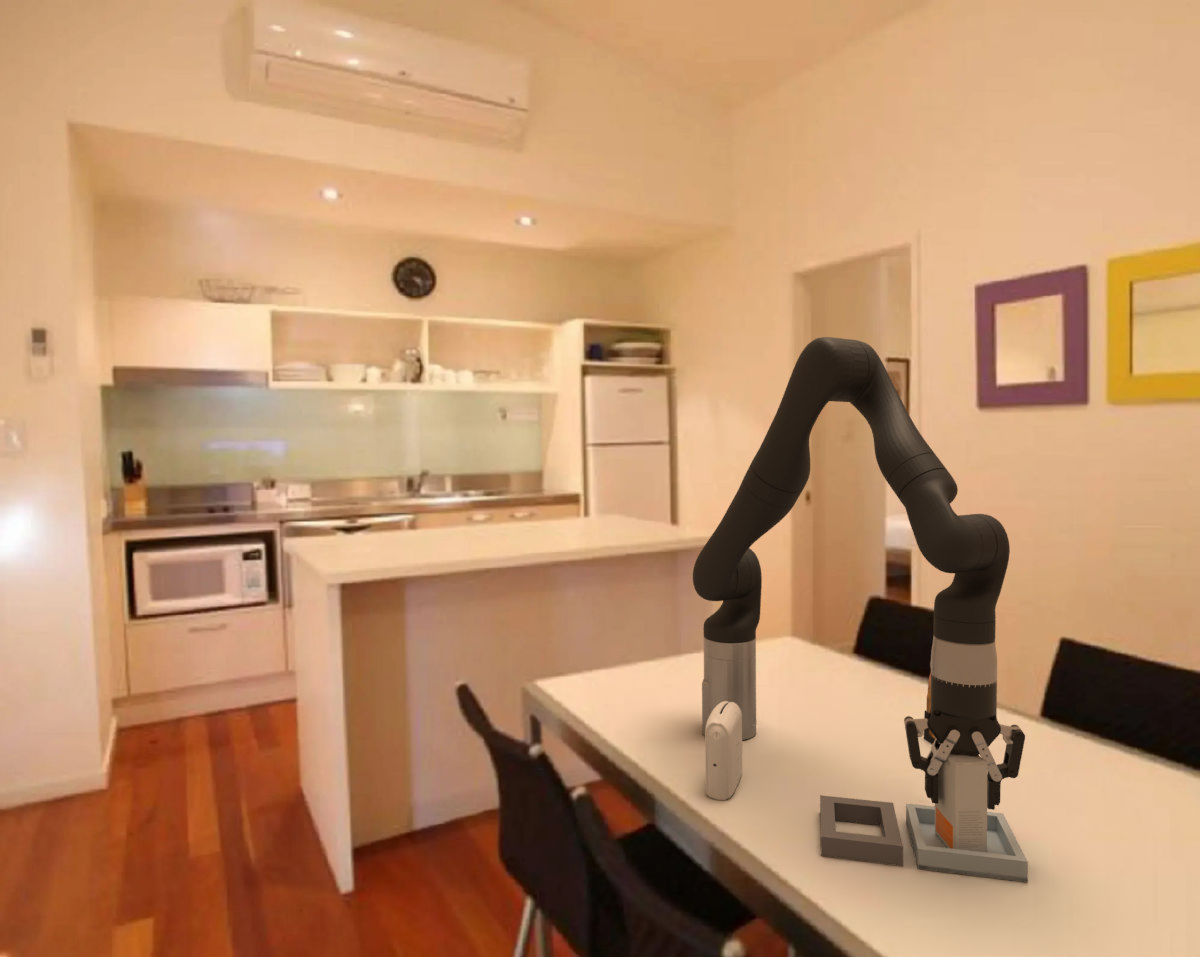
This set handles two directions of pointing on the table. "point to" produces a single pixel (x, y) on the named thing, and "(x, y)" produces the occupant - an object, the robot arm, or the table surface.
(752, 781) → the table surface
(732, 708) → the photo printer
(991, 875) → the parts tray
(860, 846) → the holder
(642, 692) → the table surface
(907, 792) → the table surface
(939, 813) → the skincare box
